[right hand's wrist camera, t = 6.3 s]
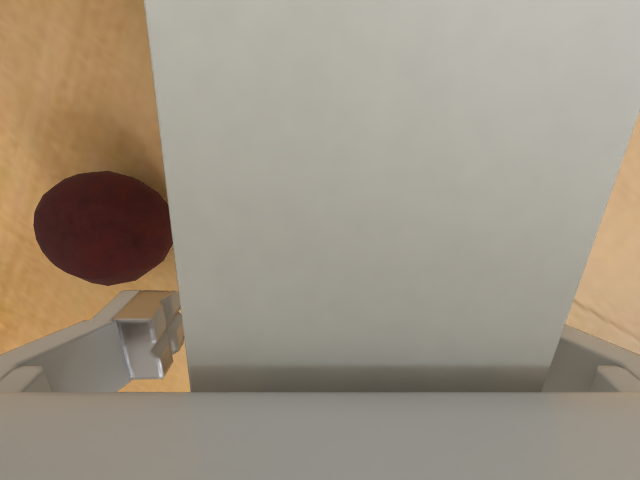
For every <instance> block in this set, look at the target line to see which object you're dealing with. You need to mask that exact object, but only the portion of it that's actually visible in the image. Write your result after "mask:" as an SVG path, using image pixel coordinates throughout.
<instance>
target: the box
mask: <svg viewBox="0 0 640 480" xmlns="http://www.w3.org/2000/svg"><path fill="white" fill-rule="evenodd" d="M144 5H145V14H146V22H147V30H148V39H149V47H150V55H151V64H152V72H153V80H154V89H155V97H156V105H157V114H158V122H159V130H160V139H161V147H162V155H163V164H164V172H165V180H166V189H167V197H168V205H169V214H170V222H171V230H172V239H173V247H174V255H175V264H176V272H177V280H178V289H179V297H180V306H181V314H182V322H183V331H184V339H185V347H186V356H187V364H188V372H189V381H190V389H191V392H541V391H542V388H543V385H544V382H545V379H546V377H547V374H548V371H549V368H550V365H551V362H552V359H553V357H554V354H555V351H556V348H557V345H558V342H559V340H560V337H561V334H562V331H563V328H564V325H565V322H566V320H567V317H568V314H569V311H570V308H571V305H572V303H573V300H574V297H575V294H576V291H577V288H578V285H579V283H580V280H581V277H582V274H583V271H584V268H585V265H586V263H587V260H588V257H589V254H590V251H591V248H592V246H593V243H594V240H595V237H596V234H597V231H598V228H599V226H600V223H601V220H602V217H603V214H604V211H605V209H606V206H607V203H608V200H609V197H610V194H611V191H612V189H613V186H614V183H615V180H616V177H617V174H618V172H619V169H620V166H621V163H622V160H623V157H624V154H625V152H626V149H627V146H628V143H629V140H630V137H631V134H632V132H633V129H634V126H635V123H636V120H637V117H638V115H639V112H640V0H144Z"/></svg>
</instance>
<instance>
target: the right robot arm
mask: <svg viewBox="0 0 640 480" xmlns="http://www.w3.org/2000/svg"><path fill="white" fill-rule="evenodd" d="M180 307H181V306H180V297H179V293H178V292H177V291H148V290H143V291H142V290H126V291H121V292H120V293H119V294H118V295H117V296H116V297H115V298H114V299H113V300H112V301H111V302H109V303H108V304H107V305H106V306H105V307H104V308H103V309H102V310H101V311H100V312H99V313H98V314H97V315H95V316H94V317H93V318H92V319H91V320H88V321H82V322H79V323H77V324H75V325H72V326H70V327H67V328H65V329H62V330H60V331H57V332H55V333H53V334H50V335H48V336H45V337H43V338H40V339H38V340H36V341H33V342H31V343H28V344H26V345H23V346H21V347H18V348H16V349H14V350H11V351H9V352H6V353H4V354H1V355H0V480H640V355H638V354H636V353H634V352H631V351H629V350H626V349H624V348H621V347H619V346H617V345H614V344H612V343H609V342H607V341H604V340H602V339H599V338H597V337H595V336H592V335H590V334H587V333H585V332H582V331H580V330H578V329H575V328H573V327H570V326H568V325H564V328H563V331H562V334H561V337H560V340H559V342H558V345H557V348H556V351H555V354H554V357H553V359H552V362H551V365H550V368H549V371H548V374H547V377H546V379H545V382H544V385H543V388H542V391H541V392H117V391H118V390H120V389H121V388H122V387H124V386H125V385H126V384H128V383H129V382H130V381H131V380H135V379H163V378H164V376H165V375H166V373H167V371H168V369H169V368H170V366H171V364H172V362H173V358H172V355H173V354H175V353H176V352H178V351H179V350H180V348H181V346H182V344H183V341H184V331H183V322H182V315H181V314H180V313H179V312H178V310H179V309H180Z"/></svg>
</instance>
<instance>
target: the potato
mask: <svg viewBox="0 0 640 480" xmlns="http://www.w3.org/2000/svg"><path fill="white" fill-rule="evenodd" d="M34 230H35V235H36V240H37V242H38V244H39V246H40V248H41V250H42V252H43V253H44V254H45V255H46V257H47V258H48V259H49V260H50V261H51V262H52V263H53V264H54V265H55V266H56V267H58V268H60V269H61V270H63V271H65V272H66V273H69V274H71V275H74V276H76V277H79V278H81V279H84V280H86V281H88V282H91V283H95V284H101V285H106V286H110V285H115V284H120V283H125V282H130V281H135V280H137V279H139V278H140V277H141V276H143V275H144V274H146V273H147V272H148V271H150V270H151V269H153V268H154V267H156V266H157V265H158V264H160V263H161V262H162V261H163V260H164V259H165V257H166V255H167V253H168V252H169V250H170V248H171V246H172V244H173V239H172V230H171V222H170V214H169V205H168V204H167V203H166V202H165V201H164V200H163V198H162V197H161V196H160V195H159V194H158V193H157V192H156V191H154V190H153V189H151V188H150V187H148V186H147V185H145V184H144V183H142V182H141V181H139V180H137V179H135V178H132V177H129V176H125V175H121V174H117V173H114V172H110V171H104V172H90V173H83V174H77V175H75V176H72V177H69V178H66V179H64V180H63V181H61V182H60V183H58V184H57V185H56V186H54V187H53V188H52V189H50V190H49V191H48V192H47V193H45V194H44V195H43V196H42V198H41V200H40V202H39V204H38V206H37V208H36V210H35V214H34Z"/></svg>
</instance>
